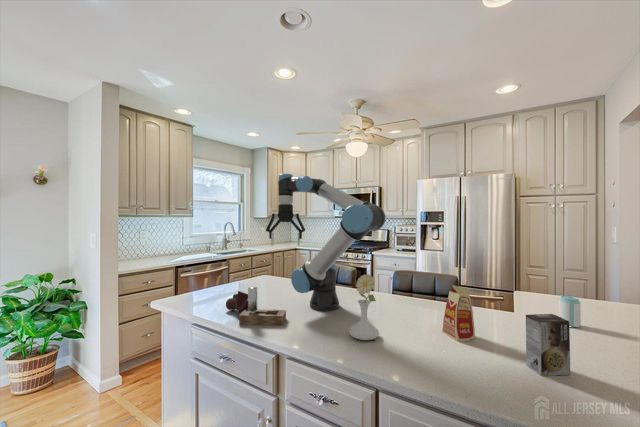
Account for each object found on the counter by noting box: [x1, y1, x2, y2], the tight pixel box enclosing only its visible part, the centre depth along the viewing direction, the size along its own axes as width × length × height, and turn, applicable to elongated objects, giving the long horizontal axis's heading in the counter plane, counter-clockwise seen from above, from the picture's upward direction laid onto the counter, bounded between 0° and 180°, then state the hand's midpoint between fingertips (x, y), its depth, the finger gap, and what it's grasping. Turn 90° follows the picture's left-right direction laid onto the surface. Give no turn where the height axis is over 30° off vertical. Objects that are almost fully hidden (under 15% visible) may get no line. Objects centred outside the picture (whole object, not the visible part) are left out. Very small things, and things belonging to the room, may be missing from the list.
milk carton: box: [441, 284, 476, 342], centre depth 115 cm, size 9×9×20 cm
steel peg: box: [247, 286, 258, 314], centre depth 130 cm, size 4×4×14 cm
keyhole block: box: [238, 309, 287, 326], centre depth 130 cm, size 19×8×4 cm, turn 87°
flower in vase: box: [349, 273, 380, 341], centre depth 113 cm, size 13×11×25 cm
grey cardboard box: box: [525, 313, 571, 377], centre depth 89 cm, size 9×6×16 cm
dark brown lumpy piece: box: [225, 290, 248, 314], centre depth 141 cm, size 6×17×10 cm, turn 54°
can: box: [558, 295, 582, 328], centre depth 125 cm, size 7×7×12 cm
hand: (285, 245), depth 151 cm, fingers open, 13 cm apart
